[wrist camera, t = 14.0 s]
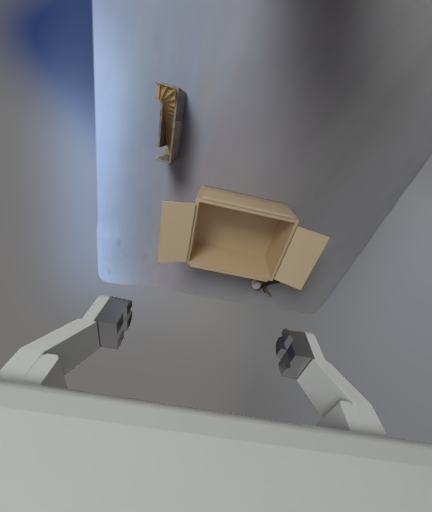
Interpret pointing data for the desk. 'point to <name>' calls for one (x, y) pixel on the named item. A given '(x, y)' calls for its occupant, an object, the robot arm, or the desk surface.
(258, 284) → the eagle figurine
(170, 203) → the flap
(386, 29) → the desk surface
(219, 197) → the carton
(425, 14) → the desk surface
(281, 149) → the desk surface
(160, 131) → the miniature staircase model
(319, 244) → the flap
